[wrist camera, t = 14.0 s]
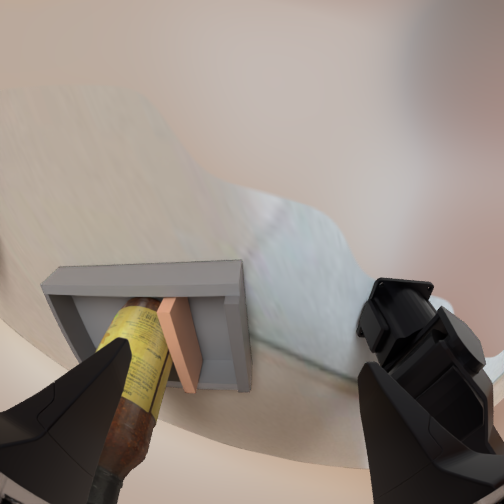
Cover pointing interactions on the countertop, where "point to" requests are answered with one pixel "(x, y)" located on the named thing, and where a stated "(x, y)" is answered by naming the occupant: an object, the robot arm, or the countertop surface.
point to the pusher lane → (157, 287)
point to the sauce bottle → (133, 396)
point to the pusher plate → (181, 340)
